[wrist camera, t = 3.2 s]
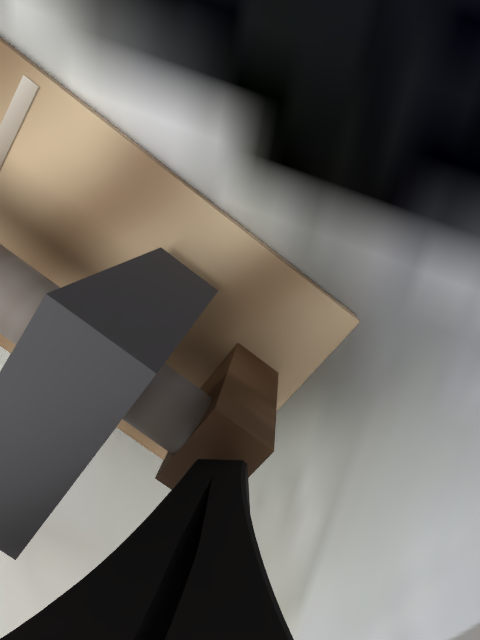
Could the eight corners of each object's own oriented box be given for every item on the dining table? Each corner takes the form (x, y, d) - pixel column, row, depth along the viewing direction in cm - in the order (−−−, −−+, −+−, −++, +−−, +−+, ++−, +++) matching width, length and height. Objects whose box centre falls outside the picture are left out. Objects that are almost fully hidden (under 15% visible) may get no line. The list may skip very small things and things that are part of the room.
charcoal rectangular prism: (218, 290, 13) (156, 373, 7) (127, 411, 15) (15, 560, 9) (161, 247, 13) (46, 293, 7) (75, 374, 15) (-76, 501, 9)
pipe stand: (356, 315, 15) (395, 385, 10) (208, 476, 18) (172, 600, 13) (-97, -39, 13) (-372, -207, 8) (-177, 206, 16) (-416, 211, 11)
